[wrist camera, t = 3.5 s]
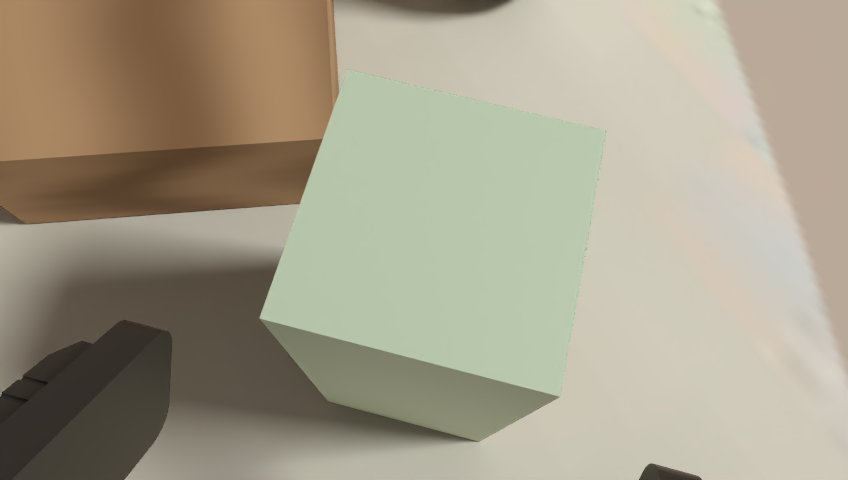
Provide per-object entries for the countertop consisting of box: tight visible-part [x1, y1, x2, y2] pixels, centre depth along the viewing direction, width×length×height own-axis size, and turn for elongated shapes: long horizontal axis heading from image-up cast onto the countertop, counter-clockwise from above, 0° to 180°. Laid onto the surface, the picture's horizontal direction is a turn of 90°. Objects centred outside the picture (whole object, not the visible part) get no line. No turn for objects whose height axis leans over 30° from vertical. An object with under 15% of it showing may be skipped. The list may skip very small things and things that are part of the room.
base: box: [0, 0, 339, 224], centre depth 21 cm, size 10×10×4 cm
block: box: [259, 69, 606, 442], centre depth 15 cm, size 4×4×10 cm
